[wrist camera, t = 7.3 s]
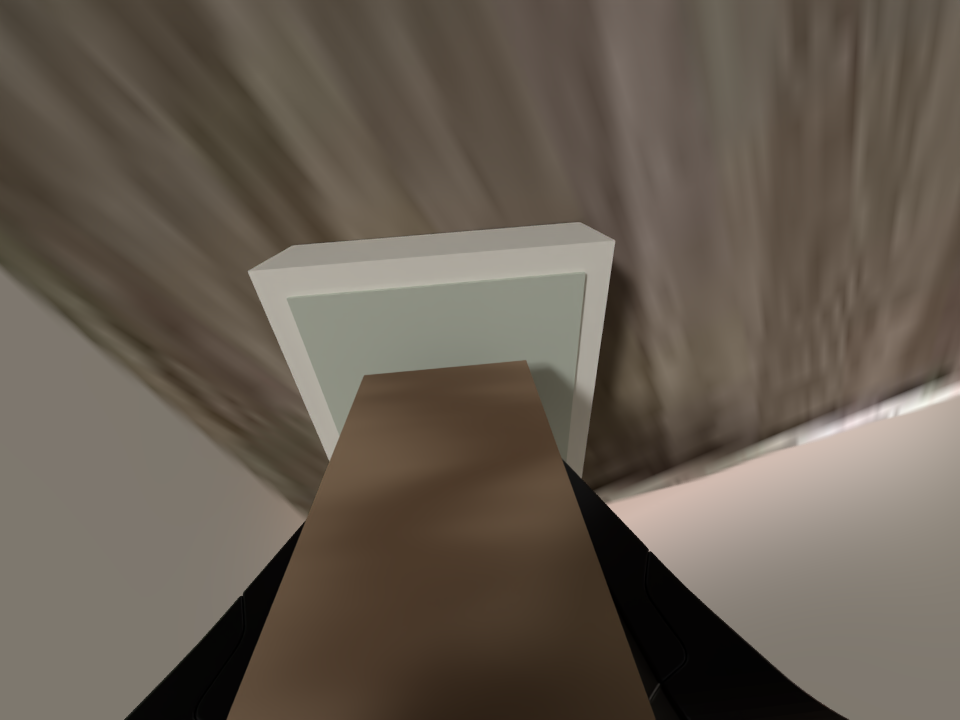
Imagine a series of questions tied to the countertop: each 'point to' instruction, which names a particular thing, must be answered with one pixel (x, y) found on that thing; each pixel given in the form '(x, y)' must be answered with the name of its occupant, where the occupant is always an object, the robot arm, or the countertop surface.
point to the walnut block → (444, 570)
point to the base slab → (444, 315)
